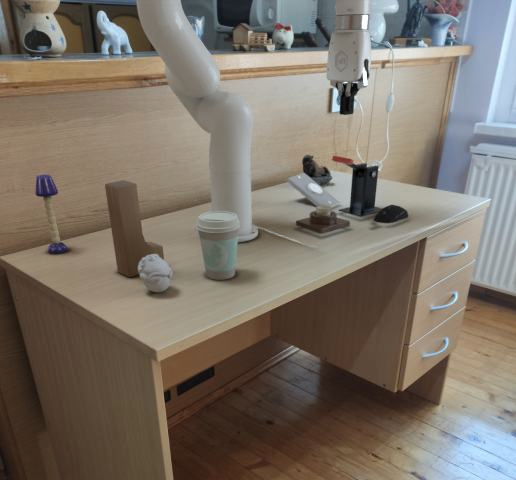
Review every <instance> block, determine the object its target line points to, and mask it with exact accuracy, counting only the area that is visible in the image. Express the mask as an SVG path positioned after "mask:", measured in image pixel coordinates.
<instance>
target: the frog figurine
mask: <svg viewBox="0 0 516 480" xmlns="http://www.w3.org/2000/svg"><path fill="white" fill-rule="evenodd" d="M138 272H139V274H138V275H139V279H140V280H142V284H143V285H144V286H145V288H147V289H148V290H149V291H151V292H152V293H162V292H164V291H166V290H167V289H168V288H169V286H170V284H171V281H172V280H173V274H174V272H173V271H172V268H171V267H170V265H169V263H168V262H167V261H166V260H165V259H164V260H163V259H162V258H160V257H159V255H158V254H151V255H147V256H145V257H143V258H142V260H140V262H139V265H138Z"/></svg>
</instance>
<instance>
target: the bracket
mask: <svg viewBox="0 0 516 480" xmlns="http://www.w3.org/2000/svg"><path fill="white" fill-rule="evenodd" d="M356 165H357V166H359V167H361V166H364V167H365V170H364V178H363V177H361V176H359V175H358V171H356V170H354V169H353V168H352V172H351V173H352V174H351V187H350V188H351V189H350V201H349V207H344V208H340V209H338V211H339V212H341V213H345V214H349V215H352V216H356V217H360V218H361V217H365V216H370V215H373V214H378V212H379V211H380V210H381V209H383V207H382V208H381V207H379V206H376V197H377V186H378V177H379V176H378V175H379V165H376V164H375V165H371V166H368V163H365V162H362V163H357V164H356Z"/></svg>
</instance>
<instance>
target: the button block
mask: <svg viewBox="0 0 516 480" xmlns="http://www.w3.org/2000/svg"><path fill="white" fill-rule="evenodd" d="M350 224H351V220H347V219H344V218H341V217H338V214H337V213H336V212H335V211H332V210H331V215H330V216H318V215H316V210H313V211H310V213H309V217H306V218H305V217H304V218H301V219H297V220H296V221H295V226H296V227H300V228H301V229H302V228H303V229H304V230H307V231H311V232H314V233H316V234H319V235H322V234H326V233H329V232H333V231H337V230H339V229H345V228H348V227H350V226H351V225H350Z"/></svg>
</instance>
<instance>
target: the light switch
mask: <svg viewBox="0 0 516 480" xmlns="http://www.w3.org/2000/svg"><path fill="white" fill-rule="evenodd" d="M286 182H287V183H288V184H289V185H291V186H292V187H293V189H295V190H296V191H298V192H299V193H300V194H301V195H303V197H305V198H306V199H307V200H308V201H310V202H311V203H312V204H313V205H314V206H316V207H317V206H319V205H327V206H330V207H332V206H335V205H337V204H339V203H341V202H340V201H339V200H338V199H337V198H335V197H334V196H333V195H332V194H331V193H329V192H328V191H327V190H326V189H325V188H323V187H322V185H318V184H317V183H316V182H315V181H314V180H312V179H311V178H310V177H309V176H307V175H306V174H305V173H303V172H302V173H299V174H296V175H292V176H289V177H287V179H286Z"/></svg>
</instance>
